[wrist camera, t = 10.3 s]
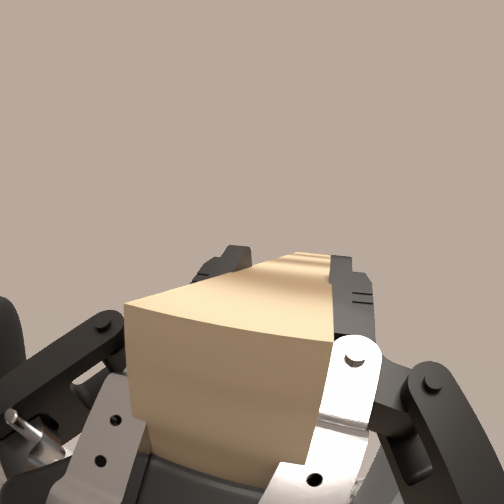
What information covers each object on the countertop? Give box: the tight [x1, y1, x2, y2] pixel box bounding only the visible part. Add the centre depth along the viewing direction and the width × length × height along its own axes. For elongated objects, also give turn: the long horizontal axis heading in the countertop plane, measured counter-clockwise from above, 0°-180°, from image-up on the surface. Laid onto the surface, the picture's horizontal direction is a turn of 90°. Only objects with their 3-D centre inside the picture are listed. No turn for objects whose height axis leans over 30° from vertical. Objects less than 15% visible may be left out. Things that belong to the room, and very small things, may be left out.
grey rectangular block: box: [353, 445, 404, 504], centre depth 22 cm, size 12×8×22 cm, turn 164°
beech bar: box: [124, 252, 334, 489], centre depth 15 cm, size 24×3×3 cm, turn 165°
